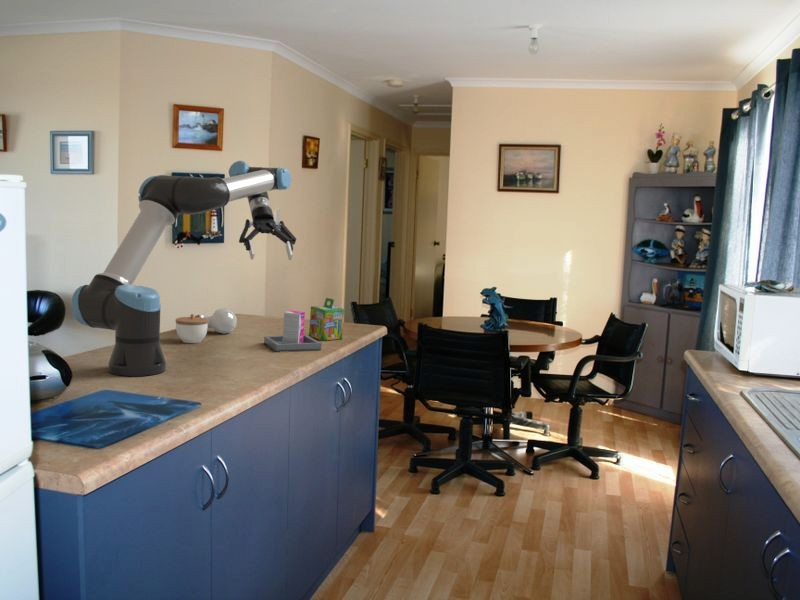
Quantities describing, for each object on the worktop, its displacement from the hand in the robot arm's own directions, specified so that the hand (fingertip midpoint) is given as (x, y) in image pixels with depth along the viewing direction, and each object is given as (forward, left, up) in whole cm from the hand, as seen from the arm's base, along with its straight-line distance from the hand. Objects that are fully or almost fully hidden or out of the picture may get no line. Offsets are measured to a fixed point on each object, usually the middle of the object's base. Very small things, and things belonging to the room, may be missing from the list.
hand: (271, 257), depth 254 cm
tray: (+5, -11, -30) cm, 32 cm away
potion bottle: (-15, +20, -30) cm, 39 cm away
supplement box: (+5, -11, -29) cm, 32 cm away
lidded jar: (-26, +4, -30) cm, 40 cm away
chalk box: (+22, +2, -30) cm, 37 cm away
